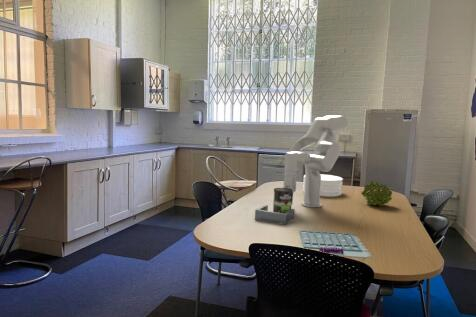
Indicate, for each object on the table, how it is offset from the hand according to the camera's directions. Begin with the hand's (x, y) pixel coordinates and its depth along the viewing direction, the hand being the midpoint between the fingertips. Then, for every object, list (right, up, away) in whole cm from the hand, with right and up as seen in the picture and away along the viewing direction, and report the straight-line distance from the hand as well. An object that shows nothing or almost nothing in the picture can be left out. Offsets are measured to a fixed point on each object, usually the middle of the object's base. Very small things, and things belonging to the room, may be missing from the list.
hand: (289, 204), depth 212 cm
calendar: (+11, -11, -55) cm, 58 cm away
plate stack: (+32, +2, +56) cm, 64 cm away
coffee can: (-6, -4, -10) cm, 12 cm away
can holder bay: (-10, -5, -19) cm, 22 cm away
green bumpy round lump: (+58, -3, +20) cm, 62 cm away
